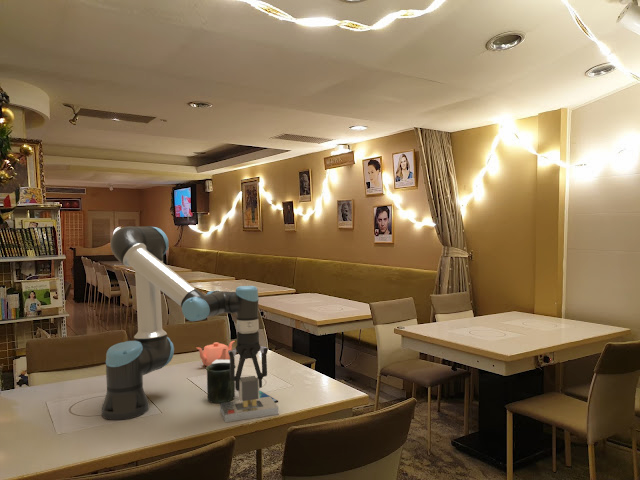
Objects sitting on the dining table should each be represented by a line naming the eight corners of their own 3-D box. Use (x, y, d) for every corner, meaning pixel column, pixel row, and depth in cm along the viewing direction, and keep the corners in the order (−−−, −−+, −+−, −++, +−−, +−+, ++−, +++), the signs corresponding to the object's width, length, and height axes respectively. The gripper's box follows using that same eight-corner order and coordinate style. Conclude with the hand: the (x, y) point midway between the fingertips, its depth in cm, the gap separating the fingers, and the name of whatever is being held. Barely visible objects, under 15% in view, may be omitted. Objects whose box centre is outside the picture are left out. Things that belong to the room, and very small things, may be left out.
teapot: (235, 361, 225) (235, 339, 225) (227, 370, 211) (226, 346, 211) (206, 361, 226) (205, 338, 226) (195, 370, 212) (195, 346, 212)
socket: (225, 422, 154) (225, 413, 154) (220, 410, 164) (220, 402, 164) (278, 414, 160) (278, 405, 160) (270, 403, 170) (270, 395, 170)
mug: (210, 406, 168) (209, 372, 168) (201, 393, 181) (201, 362, 181) (239, 401, 173) (239, 368, 173) (229, 389, 186) (228, 359, 186)
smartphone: (262, 405, 167) (243, 393, 180) (262, 407, 167) (243, 395, 180) (279, 401, 172) (259, 389, 184) (279, 403, 172) (259, 391, 184)
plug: (243, 408, 158) (242, 381, 158) (240, 403, 163) (239, 377, 163) (258, 406, 160) (257, 380, 160) (254, 401, 165) (254, 375, 165)
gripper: (222, 335, 155) (224, 405, 155) (276, 331, 161) (277, 398, 161) (219, 331, 162) (220, 398, 162) (270, 326, 168) (271, 391, 169)
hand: (248, 398), depth 162 cm, fingers closed on plug, 5 cm apart
